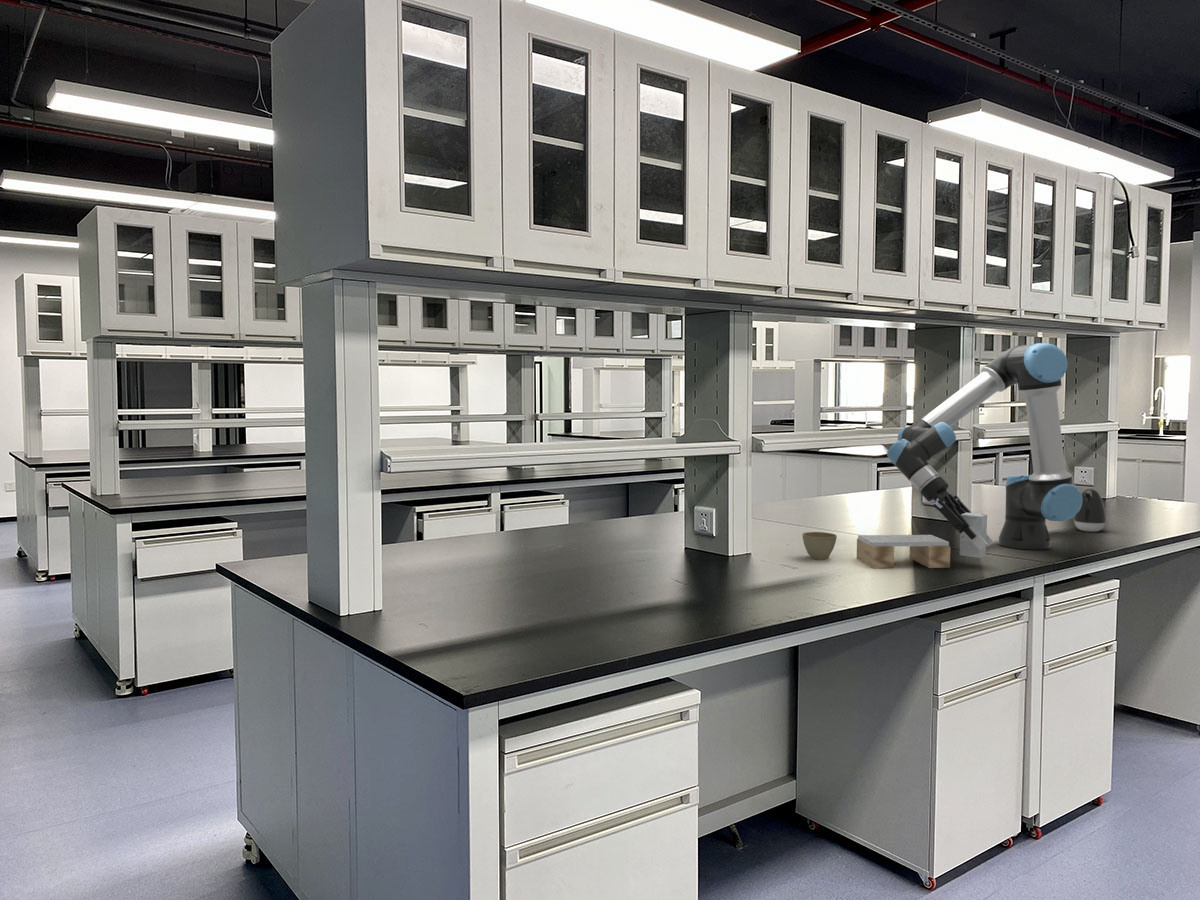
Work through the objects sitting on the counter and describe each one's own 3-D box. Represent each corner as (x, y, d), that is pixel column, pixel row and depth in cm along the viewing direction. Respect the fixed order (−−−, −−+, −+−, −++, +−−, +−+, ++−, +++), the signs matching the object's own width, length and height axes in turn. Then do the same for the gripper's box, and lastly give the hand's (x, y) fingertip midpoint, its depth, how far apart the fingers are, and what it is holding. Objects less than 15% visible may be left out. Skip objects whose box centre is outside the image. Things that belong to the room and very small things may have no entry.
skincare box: (958, 555, 239) (959, 514, 238) (965, 553, 242) (965, 512, 241) (980, 558, 234) (981, 516, 233) (987, 555, 237) (987, 514, 236)
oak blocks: (929, 558, 249) (929, 538, 248) (949, 567, 235) (950, 546, 234) (856, 558, 248) (856, 538, 248) (872, 568, 234) (873, 547, 234)
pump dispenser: (1068, 530, 298) (1069, 488, 297) (1078, 527, 305) (1079, 486, 304) (1100, 534, 291) (1101, 491, 290) (1109, 530, 298) (1111, 488, 297)
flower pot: (798, 559, 247) (799, 535, 246) (805, 553, 256) (806, 530, 255) (833, 562, 242) (833, 538, 242) (839, 556, 251) (839, 533, 251)
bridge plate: (931, 538, 247) (931, 534, 247) (948, 546, 235) (948, 541, 235) (858, 539, 247) (858, 535, 247) (871, 546, 235) (872, 542, 235)
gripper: (932, 489, 253) (987, 549, 243) (908, 494, 241) (965, 558, 231) (950, 473, 249) (1007, 533, 239) (926, 477, 237) (985, 541, 227)
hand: (986, 545), depth 235 cm, fingers closed on skincare box, 4 cm apart
